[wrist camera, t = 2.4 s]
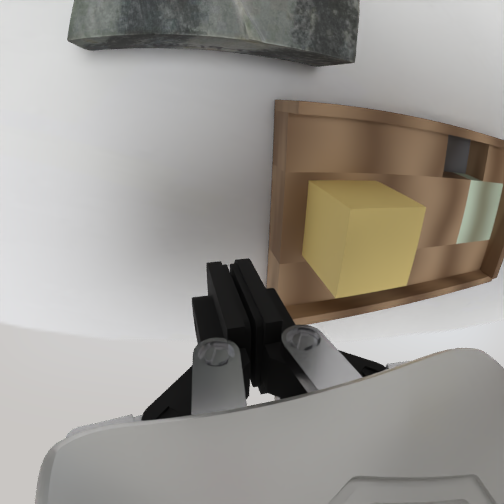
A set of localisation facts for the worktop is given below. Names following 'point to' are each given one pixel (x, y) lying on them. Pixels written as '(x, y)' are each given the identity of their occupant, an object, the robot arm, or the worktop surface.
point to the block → (360, 235)
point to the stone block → (223, 27)
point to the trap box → (398, 178)
